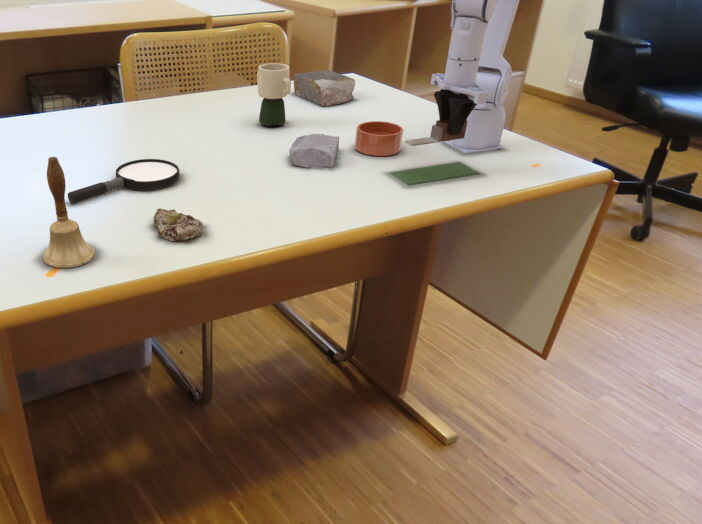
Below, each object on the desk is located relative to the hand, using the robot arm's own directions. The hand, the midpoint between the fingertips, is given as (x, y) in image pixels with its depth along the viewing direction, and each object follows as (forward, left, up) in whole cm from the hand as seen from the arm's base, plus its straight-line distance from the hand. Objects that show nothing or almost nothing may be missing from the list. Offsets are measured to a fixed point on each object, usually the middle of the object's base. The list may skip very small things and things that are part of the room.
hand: (449, 131), depth 133 cm
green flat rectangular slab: (+3, +1, -8) cm, 8 cm away
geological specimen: (-2, -56, -8) cm, 57 cm away
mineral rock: (+58, +7, -8) cm, 59 cm away
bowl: (+6, -15, -8) cm, 18 cm away
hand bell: (+77, +10, -8) cm, 78 cm away
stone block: (+21, -16, -8) cm, 28 cm away
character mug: (+20, -40, -8) cm, 46 cm away
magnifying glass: (+62, -15, -8) cm, 64 cm away
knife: (+3, 0, -1) cm, 4 cm away
